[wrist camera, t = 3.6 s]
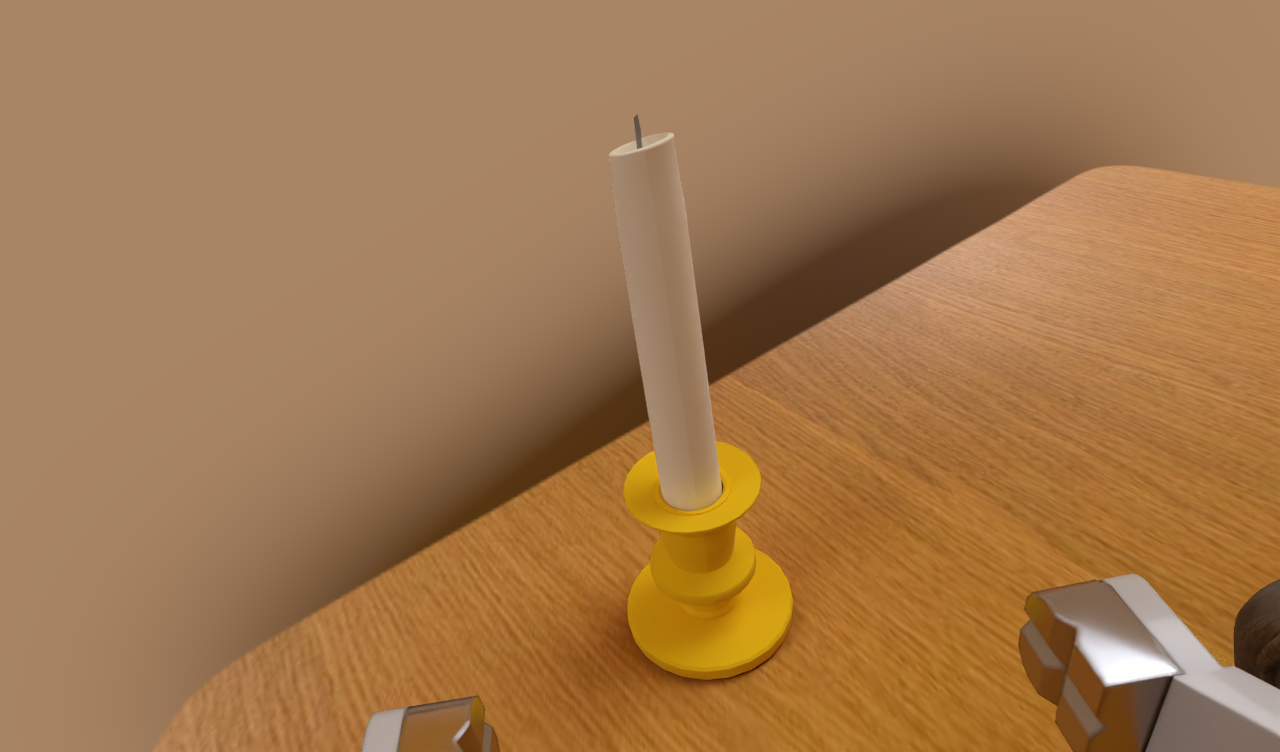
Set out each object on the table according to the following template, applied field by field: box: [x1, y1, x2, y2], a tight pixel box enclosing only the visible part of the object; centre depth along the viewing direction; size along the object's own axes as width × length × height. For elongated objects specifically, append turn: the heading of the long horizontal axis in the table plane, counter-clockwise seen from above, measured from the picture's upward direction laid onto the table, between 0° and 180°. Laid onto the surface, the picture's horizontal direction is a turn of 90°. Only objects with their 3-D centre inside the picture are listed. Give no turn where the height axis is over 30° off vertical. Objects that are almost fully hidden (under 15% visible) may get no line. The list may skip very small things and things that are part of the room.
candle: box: [609, 115, 793, 680], centre depth 20 cm, size 5×5×16 cm
